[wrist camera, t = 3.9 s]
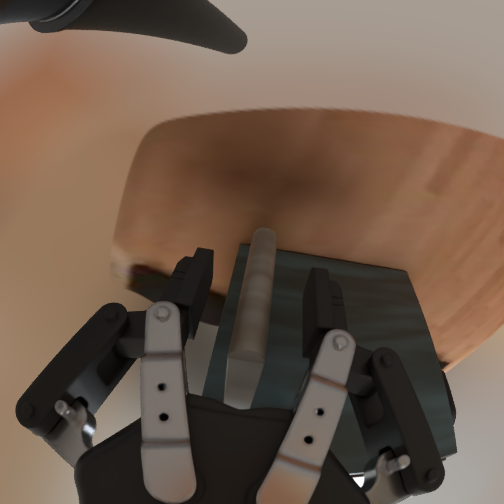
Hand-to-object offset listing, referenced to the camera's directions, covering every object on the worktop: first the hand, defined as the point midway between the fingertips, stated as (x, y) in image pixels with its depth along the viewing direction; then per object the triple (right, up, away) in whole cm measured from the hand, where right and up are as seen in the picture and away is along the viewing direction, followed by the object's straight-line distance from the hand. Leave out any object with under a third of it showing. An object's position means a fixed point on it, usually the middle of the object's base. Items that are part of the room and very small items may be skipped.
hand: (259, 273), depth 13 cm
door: (+7, +3, +10) cm, 13 cm away
